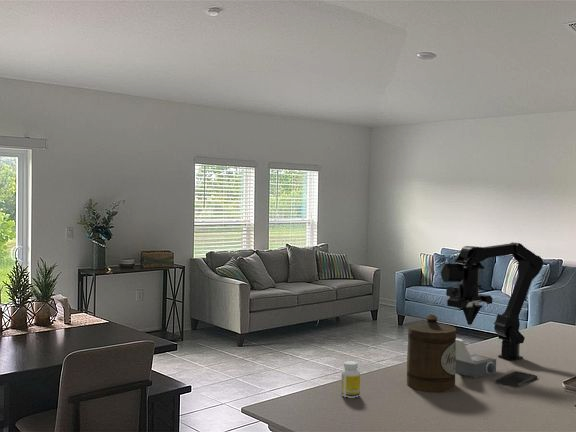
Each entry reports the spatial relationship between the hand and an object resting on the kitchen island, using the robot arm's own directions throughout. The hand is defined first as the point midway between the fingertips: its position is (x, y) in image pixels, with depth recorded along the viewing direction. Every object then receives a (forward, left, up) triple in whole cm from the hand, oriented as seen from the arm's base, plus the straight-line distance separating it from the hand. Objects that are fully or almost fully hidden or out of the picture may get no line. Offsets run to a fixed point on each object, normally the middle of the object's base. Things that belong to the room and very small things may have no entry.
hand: (469, 324), depth 222 cm
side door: (+19, +11, -4) cm, 22 cm away
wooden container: (+34, +12, -13) cm, 38 cm away
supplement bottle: (+62, +6, -13) cm, 64 cm away
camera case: (+11, +11, -13) cm, 20 cm away
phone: (+7, +24, -14) cm, 29 cm away
